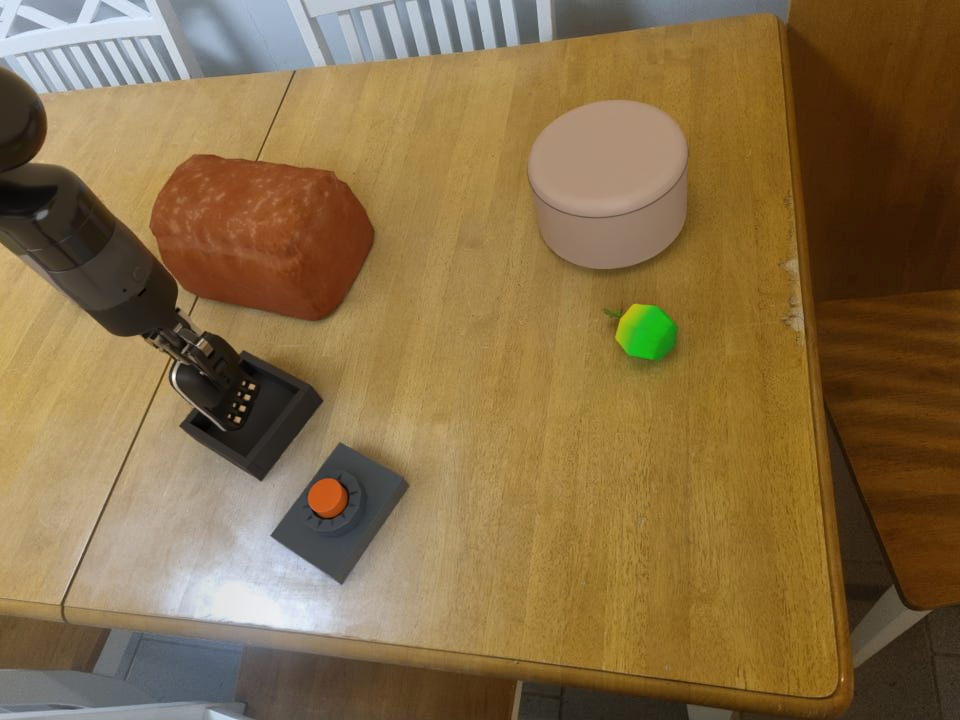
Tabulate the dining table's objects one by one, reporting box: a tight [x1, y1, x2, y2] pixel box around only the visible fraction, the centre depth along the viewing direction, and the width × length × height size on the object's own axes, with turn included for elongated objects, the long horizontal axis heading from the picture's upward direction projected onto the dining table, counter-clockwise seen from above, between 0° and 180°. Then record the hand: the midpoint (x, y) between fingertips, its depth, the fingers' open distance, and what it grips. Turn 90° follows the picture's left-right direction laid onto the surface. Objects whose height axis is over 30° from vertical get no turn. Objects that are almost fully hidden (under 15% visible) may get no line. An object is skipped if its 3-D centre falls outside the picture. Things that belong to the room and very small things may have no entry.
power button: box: [308, 478, 348, 518], centre depth 74 cm, size 4×4×2 cm
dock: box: [178, 349, 324, 482], centre depth 85 cm, size 12×12×4 cm
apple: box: [601, 303, 679, 362], centre depth 78 cm, size 7×6×9 cm
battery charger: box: [168, 333, 260, 431], centre depth 79 cm, size 7×4×11 cm, turn 167°
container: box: [526, 99, 690, 270], centre depth 86 cm, size 18×18×12 cm
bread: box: [148, 153, 375, 322], centre depth 94 cm, size 17×24×15 cm
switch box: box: [269, 441, 410, 586], centre depth 76 cm, size 12×9×4 cm
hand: (211, 374), depth 78 cm, fingers closed on battery charger, 5 cm apart
